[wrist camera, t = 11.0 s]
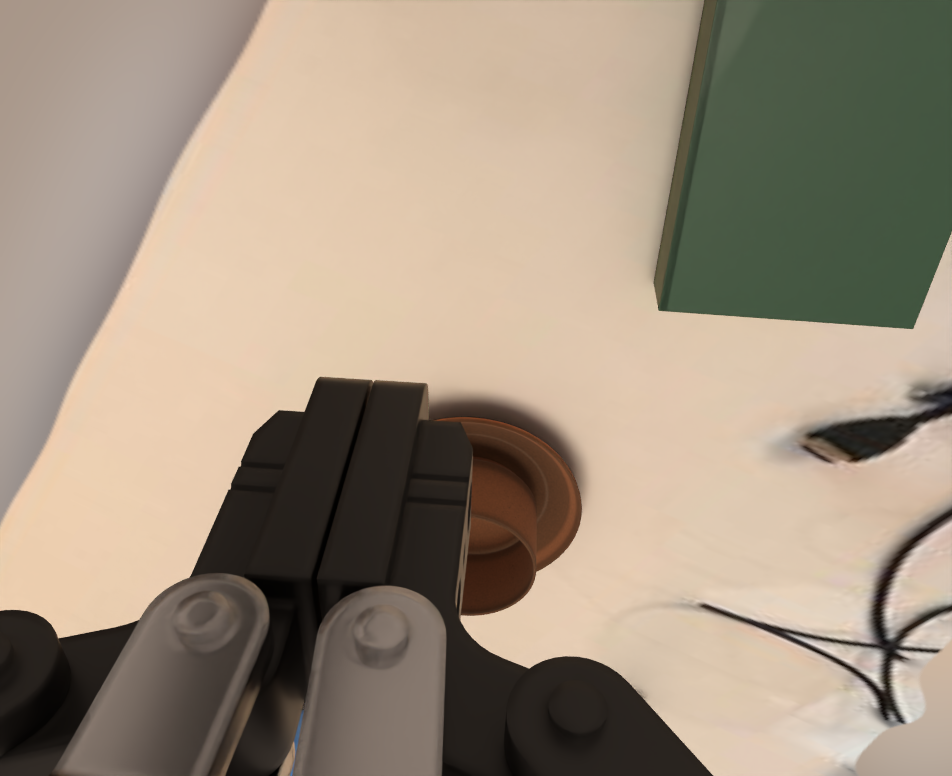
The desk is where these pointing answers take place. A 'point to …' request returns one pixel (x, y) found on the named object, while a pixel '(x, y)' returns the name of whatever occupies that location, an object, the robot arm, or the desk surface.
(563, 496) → the cup and saucer
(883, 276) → the book
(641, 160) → the desk surface
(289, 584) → the robot arm
